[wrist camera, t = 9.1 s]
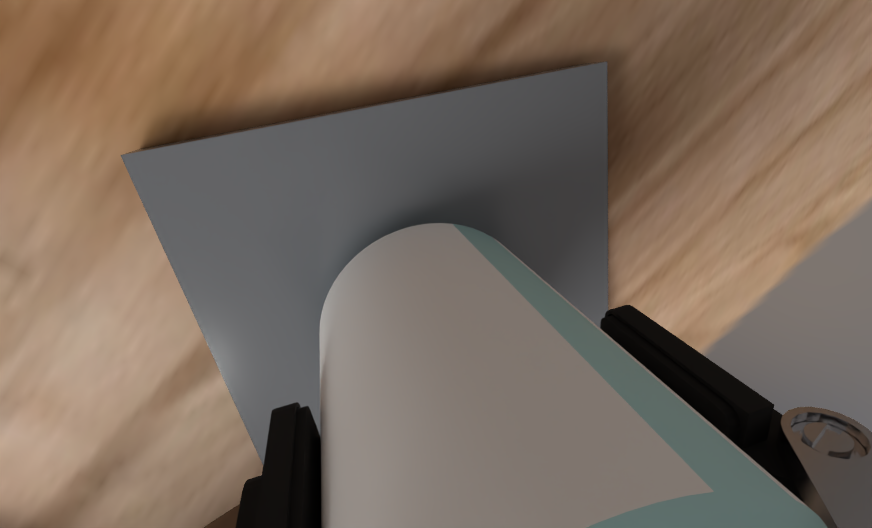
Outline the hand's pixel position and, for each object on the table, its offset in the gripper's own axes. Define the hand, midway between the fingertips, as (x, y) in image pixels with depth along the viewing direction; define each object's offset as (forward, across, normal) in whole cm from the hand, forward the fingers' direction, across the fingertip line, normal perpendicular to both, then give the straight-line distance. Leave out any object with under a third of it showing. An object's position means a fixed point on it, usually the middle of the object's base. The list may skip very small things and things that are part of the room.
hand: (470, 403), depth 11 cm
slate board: (+6, 0, 0) cm, 6 cm away
